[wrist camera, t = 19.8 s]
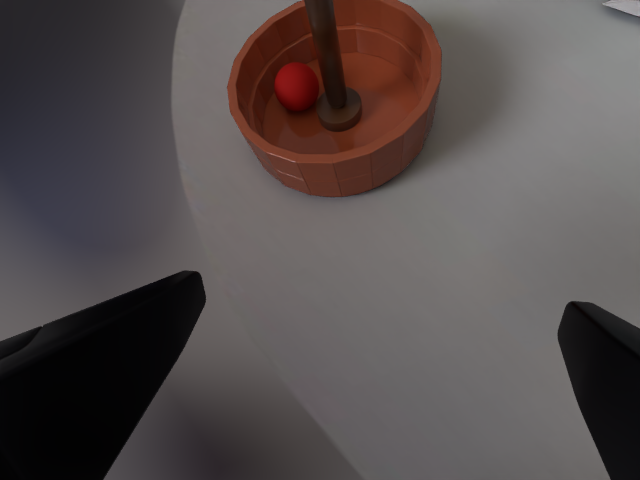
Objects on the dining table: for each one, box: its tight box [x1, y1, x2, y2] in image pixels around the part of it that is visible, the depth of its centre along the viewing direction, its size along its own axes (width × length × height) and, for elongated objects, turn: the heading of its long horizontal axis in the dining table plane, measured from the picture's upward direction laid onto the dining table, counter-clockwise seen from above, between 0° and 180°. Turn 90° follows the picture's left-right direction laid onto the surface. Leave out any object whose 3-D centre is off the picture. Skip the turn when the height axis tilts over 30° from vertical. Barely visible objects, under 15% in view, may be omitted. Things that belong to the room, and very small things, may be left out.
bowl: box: [227, 0, 442, 197], centre depth 24 cm, size 13×13×5 cm
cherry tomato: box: [274, 62, 319, 111], centre depth 25 cm, size 3×3×3 cm
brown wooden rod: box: [304, 0, 362, 132], centre depth 19 cm, size 3×3×13 cm
